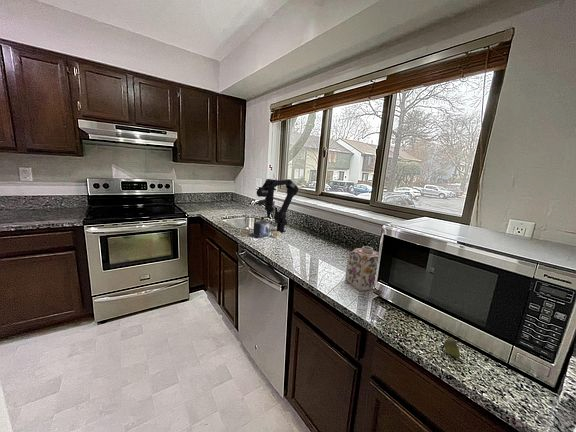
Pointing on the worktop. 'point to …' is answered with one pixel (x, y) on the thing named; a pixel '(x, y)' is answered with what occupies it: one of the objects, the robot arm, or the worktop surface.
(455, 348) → the lime
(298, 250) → the worktop surface
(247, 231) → the marked block 1
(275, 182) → the robot arm
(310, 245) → the worktop surface
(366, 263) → the decorative jar
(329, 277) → the worktop surface
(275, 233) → the marked block 2
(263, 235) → the small box
